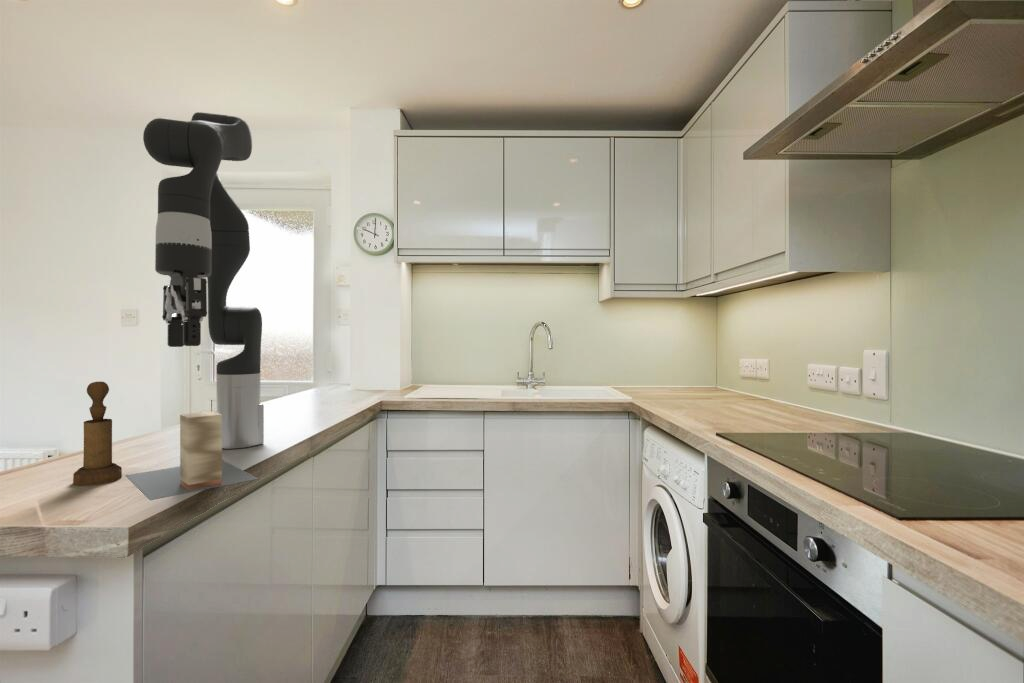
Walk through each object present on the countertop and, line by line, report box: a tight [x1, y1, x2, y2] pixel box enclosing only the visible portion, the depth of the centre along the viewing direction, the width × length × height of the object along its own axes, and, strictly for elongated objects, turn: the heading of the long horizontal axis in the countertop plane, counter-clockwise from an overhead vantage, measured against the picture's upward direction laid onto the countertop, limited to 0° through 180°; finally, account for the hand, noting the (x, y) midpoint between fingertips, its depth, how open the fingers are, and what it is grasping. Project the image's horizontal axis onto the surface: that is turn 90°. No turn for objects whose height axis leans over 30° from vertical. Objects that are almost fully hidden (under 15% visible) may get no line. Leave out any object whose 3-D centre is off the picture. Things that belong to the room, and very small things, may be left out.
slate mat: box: [125, 459, 259, 501], centre depth 89 cm, size 16×20×1 cm
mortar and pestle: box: [72, 381, 123, 487], centre depth 87 cm, size 7×6×18 cm
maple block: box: [179, 411, 223, 490], centre depth 85 cm, size 5×5×12 cm
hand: (183, 346), depth 79 cm, fingers open, 8 cm apart
